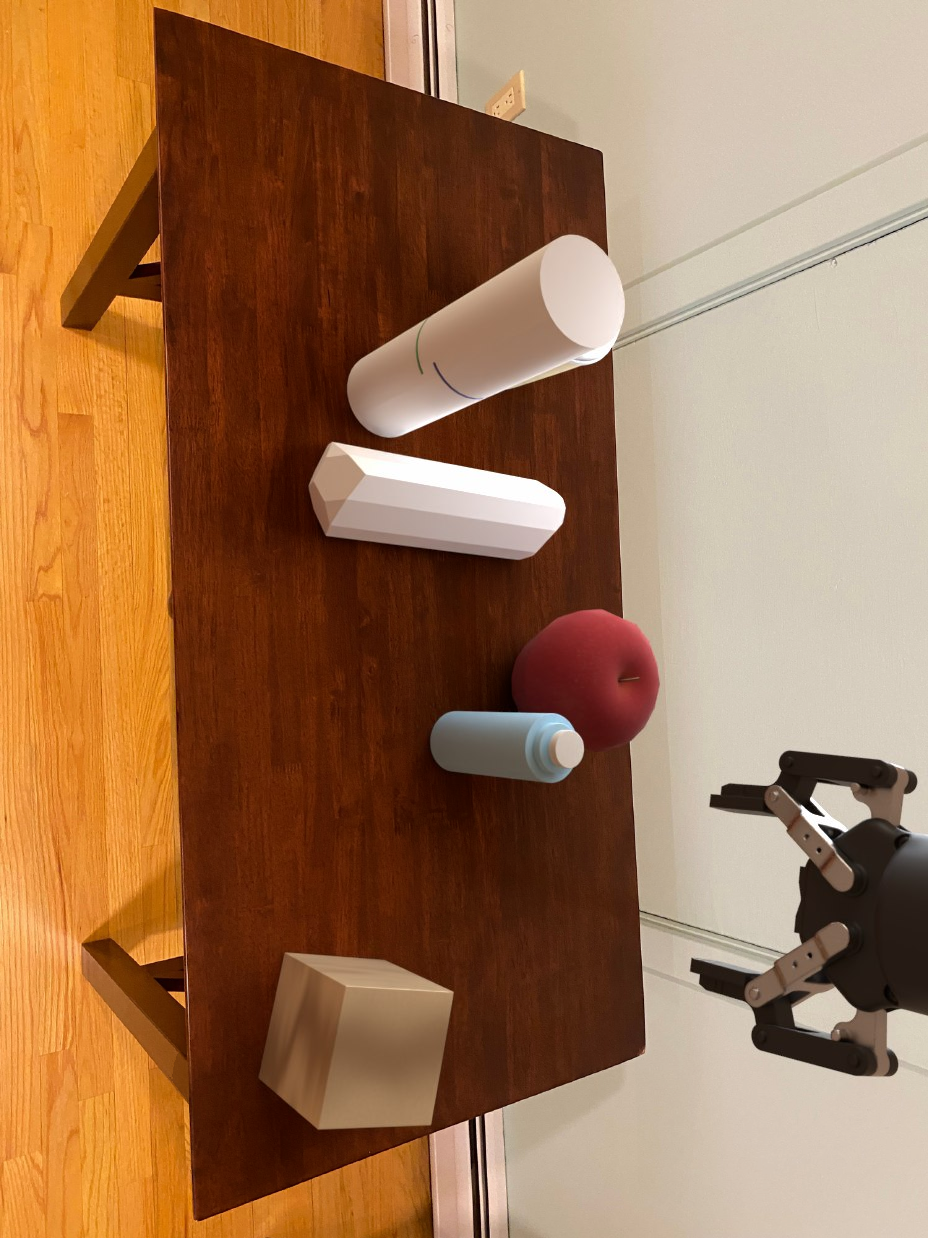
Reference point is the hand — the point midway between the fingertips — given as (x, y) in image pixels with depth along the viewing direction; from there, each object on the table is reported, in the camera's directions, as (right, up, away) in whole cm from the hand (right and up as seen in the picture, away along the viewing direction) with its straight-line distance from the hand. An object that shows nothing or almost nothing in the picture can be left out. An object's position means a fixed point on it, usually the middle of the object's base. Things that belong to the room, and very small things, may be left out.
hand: (710, 883), depth 50 cm
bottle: (-14, +4, +31) cm, 34 cm away
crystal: (-17, +24, +31) cm, 42 cm away
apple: (-7, +8, +36) cm, 38 cm away
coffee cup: (-11, +39, +36) cm, 54 cm away
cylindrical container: (-20, +33, +29) cm, 48 cm away
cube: (-24, -17, +22) cm, 37 cm away
